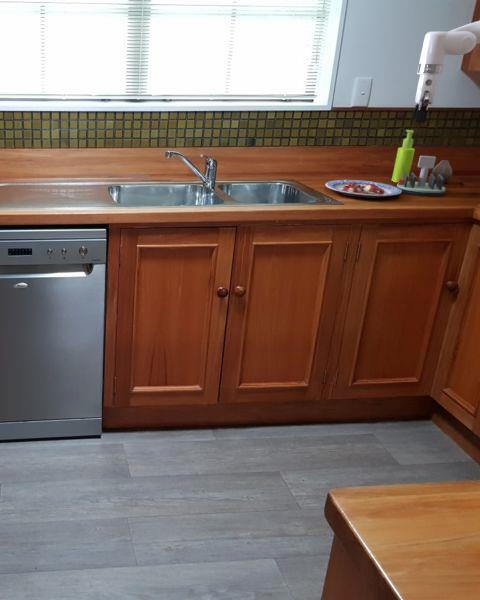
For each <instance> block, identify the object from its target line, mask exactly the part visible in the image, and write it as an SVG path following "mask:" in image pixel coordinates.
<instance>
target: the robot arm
mask: <svg viewBox="0 0 480 600" xmlns="http://www.w3.org/2000/svg"><path fill="white" fill-rule="evenodd" d="M479 44H480V20H477V21H473V22H470V23H467V24H464V25H462V26H459V27H456V28H454V29H451V30H448V31H444V30H443V31H442V30H441V31H440V30H439V31H436V30H435V31H427V32H426V34H425V35H424V38H423V44H422V47H421V53H420V57H419V62H418V66H417V71H416V75H419V78H418V82H417V86H416V87H417V88H416V91H415V92H416V93H415V98H414V103H415V106H414V108H413V113H412V118H411V119H412V120H414V123H424V124H425V123H426V121H427V117H428V112H429V106H431V105H433V104H434V99H435V95H436V90H437V84H438V78H439V76H441V75H442V72H443V68H444V62H445V58H446V55H453V56H461V55H462V56H463V55H466V54H468V53H470V52H471V51H472V50H474V48H476V45H479Z"/></svg>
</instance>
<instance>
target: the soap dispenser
mask: <svg viewBox="0 0 480 600" xmlns="http://www.w3.org/2000/svg"><path fill="white" fill-rule="evenodd" d="M405 132H406V133H407V134H406V137H405V138H403V142H402V145H401V147H398V148H397V152H396V157H395V161H394V166H393V171H392V176H391V182H392V181H393V183H397V182H398V180H399V178H400V179H403V174H404V172H406V173H407V175H408V179H410V178H409V177H410V175H411V168H412V164H413V160H414V155H415V151H416V149H415V148H413V144H414V139H413V134H414V130H413V129H406V130H405ZM407 182H409V180H408V181H407Z"/></svg>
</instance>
